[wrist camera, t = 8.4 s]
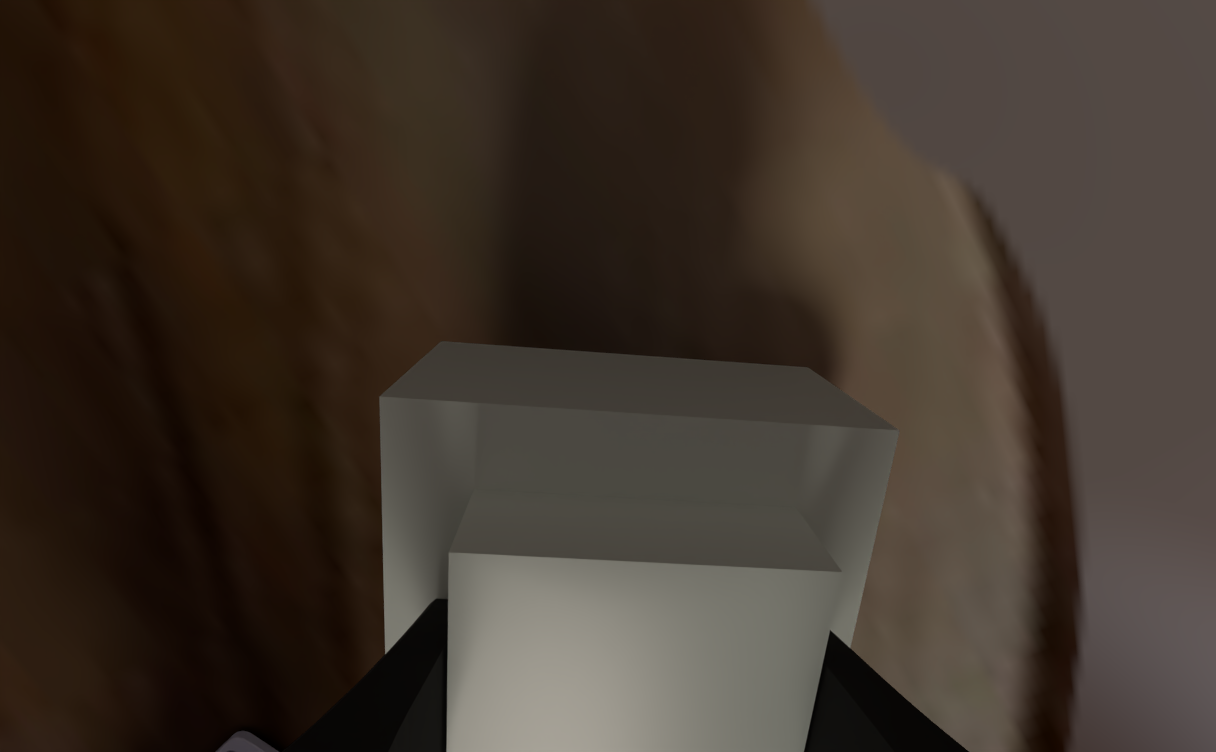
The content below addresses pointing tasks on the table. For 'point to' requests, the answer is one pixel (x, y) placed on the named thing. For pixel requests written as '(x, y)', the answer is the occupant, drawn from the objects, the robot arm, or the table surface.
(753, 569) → the white block
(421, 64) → the table surface
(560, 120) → the table surface
